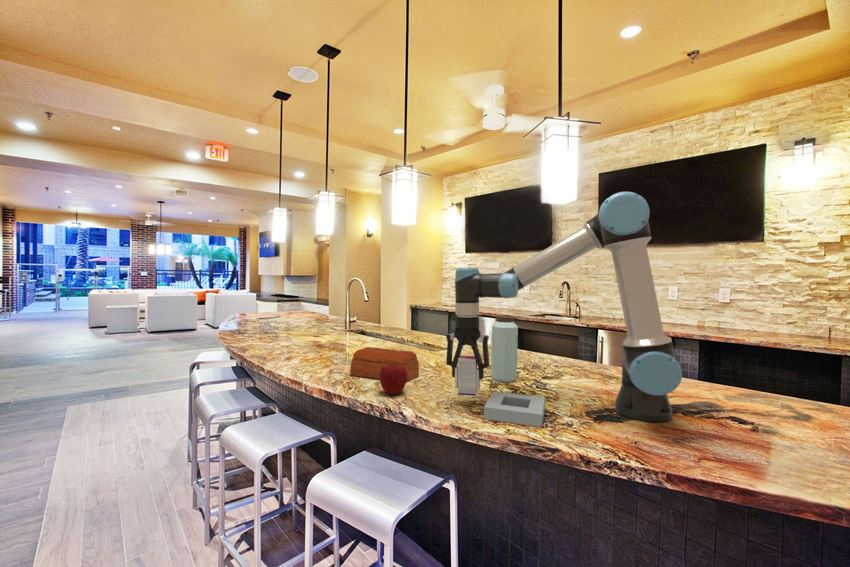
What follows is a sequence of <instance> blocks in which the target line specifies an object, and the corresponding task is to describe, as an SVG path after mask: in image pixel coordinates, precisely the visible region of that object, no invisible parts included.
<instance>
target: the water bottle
mask: <svg viewBox="0 0 850 567" xmlns="http://www.w3.org/2000/svg"><path fill="white" fill-rule="evenodd" d="M495 318H496V319H495V320H496V321H495V322H494V323H493V324H492V326H491V363H490V364H491V365H490V366H491V368H490V370H491V371H490V376H491V378H492V379H493V380H494V381H496V382H500V383H512V382H515V380H516V379H517V378H518V346H519V345H518V342H519V341H518V340H519V338H518V334H519V331H518V330H519V327H518V325H517V324H516V323H515V321H514V319H515V317H514V316H512V315H510V316H509V315H497V316H496V317H495Z"/></svg>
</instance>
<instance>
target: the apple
mask: <svg viewBox="0 0 850 567" xmlns="http://www.w3.org/2000/svg"><path fill="white" fill-rule="evenodd" d="M406 381H407V371H406V369H405V368H404V367H403V366H401V365H396V364H395V365H394V364H391V365H385V366H384V367H382V369H381V371H380V379H379V382H380V386H381V388H382V390H383V391H384V392H385V393H386V394H387V395H390V396H391V395H392V396H393V395H399V394H400V393H401V392H403V390H404V388H405V387H406V384H407V382H406Z"/></svg>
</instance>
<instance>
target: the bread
mask: <svg viewBox="0 0 850 567" xmlns="http://www.w3.org/2000/svg"><path fill="white" fill-rule="evenodd" d="M352 355H353V356H352V359H351V361H350V362H351V363H350V368H349V369H350V371H349V373H350V375H351V376H353V375H354V377H358V378H359V377H360V378H368V379H376V380H380V371H381V369H382V367H384V366H385V365H391V364H394V365H395V364H396V365H401V366H403V367H404V368H405V369H406V371H407V381H406V383H408V382H411V381H413V380H416V379H417V378H419V377H420V376H419V375H420V374H419V372H420V368H419V364H420V362H419V360H418V357H417V356H418V355H417V354H416V353H415V352H413V351H411V350H403V349H402V350H396V349H390V348H380V347H371V346H366V347H363V348H360V349H356V350H355V352H354V353H353V354H352Z"/></svg>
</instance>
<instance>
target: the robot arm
mask: <svg viewBox="0 0 850 567" xmlns="http://www.w3.org/2000/svg"><path fill="white" fill-rule="evenodd" d="M650 213H651V211H650V206H649V204H648V202H647V200H646V199H645V198H644V197H643V196H642V195H639V194H638V193H636V192H632V191H619V192H616V193H614V194H611V195H610V196H609V197H608V198H606V199H605V200H604V201H603V202H602V204H601V205H600V206H599V209H598V213H597V214H595V215H594V216H593V217H591V218H590V219H589V220H587V221H585V222H584V223H583V226H582V227H581V228H579V229H578V230H576V231H574V232H572V233H571V234H568V236H566V237H563V239H560V240H558V241H557V242H555V243H553V244H552V245H549V246H548V247H546V248H545V249H543V250H541V251H540V252H538V253H536V254H535V255H533V256H531V257H529V258H528V259H525V260H524V261H522V262H521V263H519V264H517V265H515V266H514V267H512V268H510V269H508V270H507V271H505V272H503V273H502V272H500V273H499V272H497V273H482V272H480V269H479V268H478V267H458V268H457V269H456V270H455V278H454V280H455V281H454V293H455V296H454V297H455V315H456V317H455V319H454V320H455V329H454V330H455V331H454V332H453V333H448V334H446V335H445V337H446V341H447V345H446V347H447V348H446V362H445V364H446V365H447V366H450V367H451V376H452V378H454V389H458V358H459V357H460V356H461V353H462V350H463V348H464V346H470V347H471V349H472V351H473V354H474V355H473V356H475V359H476V362H477V369H476V390H477V391H480V390H481V380H483V378H484V373H485V372H484V369H486V368H488V367H490V358H489V356H490V355H489V344H488V343H489V339H490V336H489V335H488V334H486V335H485V334H483V333H481V331H480V317H479V315H480V298H494V299H495V298H496V299H513V298H516V297H517V296H518V294H519V291H520V290H522V289H524V288H525V287H527V286H529V285H531V284H533V283H534V282H536V281H538V280H540V279H542V278H543V277H545V276H547V275H549V274H550V273H553V272H555V271H556V270H558V269H560V268H561V267H563V266H565V265H567V264H569V263H571V262H572V261H574V260H576V259H579V258H580V257H582V256H583V255H586V254H588V253H589V252H591V251H592V250H594V249H603V248H605V249H606V250H608V251H610V253H611V258H612V263H613V266H614V271H615V277H616V282H617V288H618V292H619V298H620V302H621V303H620V304H621V308H622V314H623V318H624V323H625V328H626V335H627V336H625V337H624V338H623V340H622V345H621V348H622V358H621V359H622V360H621V361H622V364H621V365H622V368H621V369H622V370H621V387H620V388H619V390H618V394H617V396H616V399H615V402H614V411H615V412H616V413H618V414H620V415H621V416H624V417H626V418H629V419H632V420H636V421H641V422H648V423H649V422H650V423H667V422H670V421H671V420H672V419H673V408H672V406H671V402H670V400H669V397H668V394H670V393H672V392H674V391H675V390H676V389H677V388H678V387H679V386H680V384H681V382H682V377H683V372H682V367H681V366H680V363H679V361H678V360H677V359H676V353H675V349H674V344H673V341H672V340H673V339H672V338H670V337H669V336H668V335H666V334H665V333H664V328H663V323H662V318H661V312H660V308H659V307H660V306H659V302H658V298H657V297H658V296H657V294H656V288H655V283H654V282H655V281H654V278H653V273H652V267H651V263H650V258H649V252H648V248H647V245H648V243H649V242H650V241H651V240H652V234H651V229H650V224H649V219H650ZM455 339H456V340H457V342H458V343H457V346H456V350H455V354H454V356H453V350H454V348H453V347H454V340H455ZM479 339H480V341H481V342H482V346H481V347H482V355H483V359H482V356H481V352H480V350H479V346H478V340H479ZM666 421H667V422H666Z"/></svg>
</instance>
